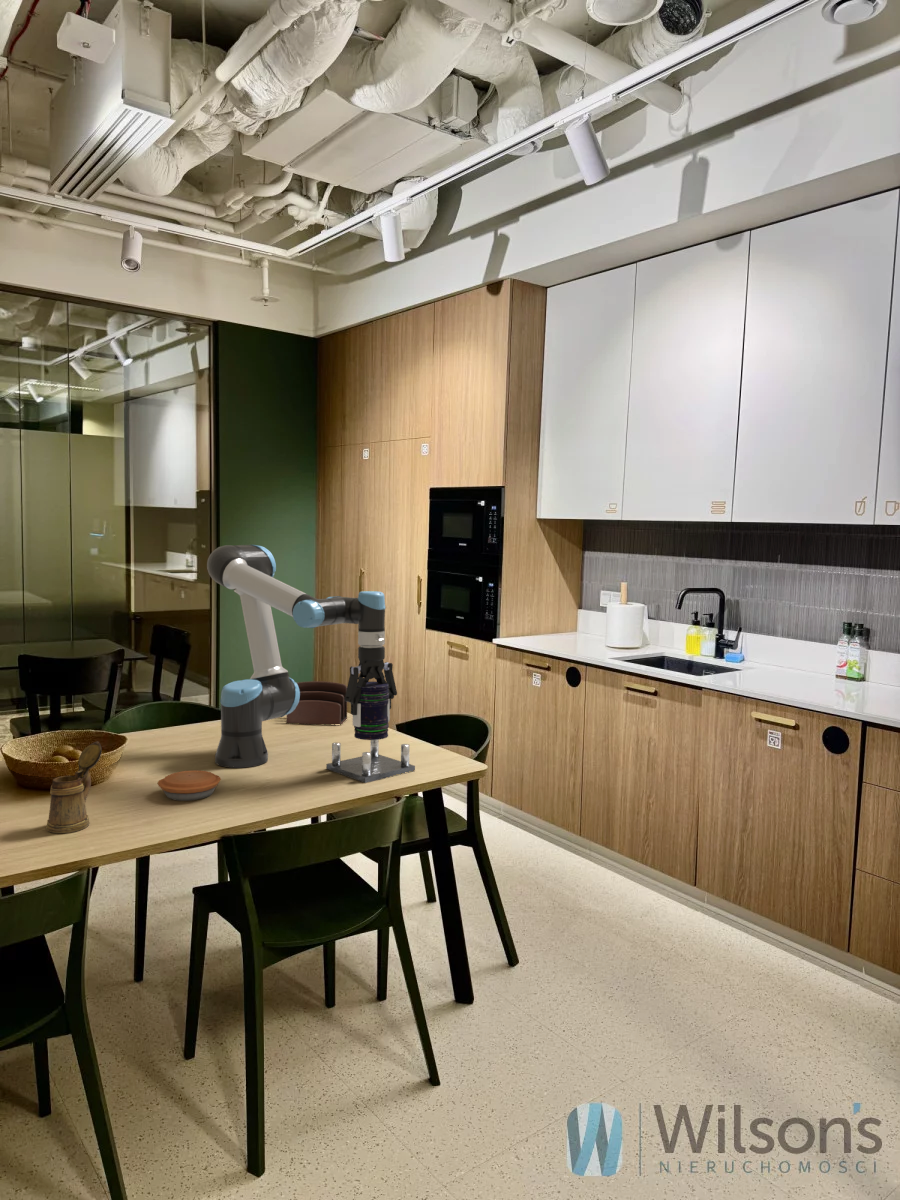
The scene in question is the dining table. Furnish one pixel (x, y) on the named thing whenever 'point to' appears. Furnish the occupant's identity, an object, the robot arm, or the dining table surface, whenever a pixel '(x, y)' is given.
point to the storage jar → (373, 712)
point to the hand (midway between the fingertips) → (371, 723)
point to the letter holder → (320, 703)
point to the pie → (189, 785)
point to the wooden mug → (72, 795)
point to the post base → (376, 768)
